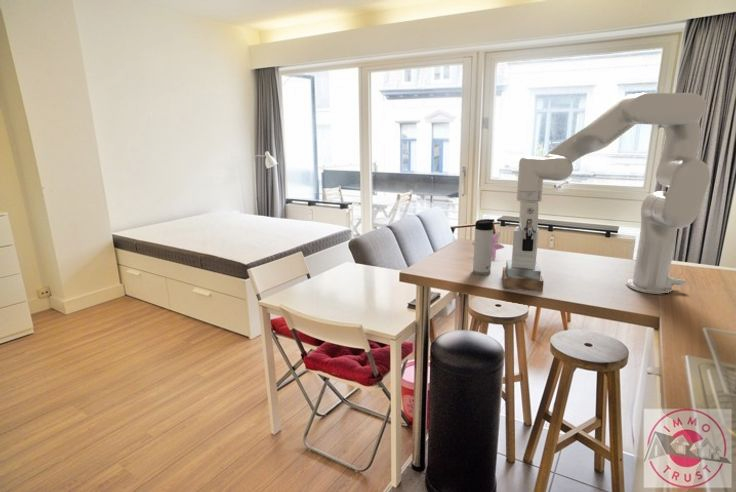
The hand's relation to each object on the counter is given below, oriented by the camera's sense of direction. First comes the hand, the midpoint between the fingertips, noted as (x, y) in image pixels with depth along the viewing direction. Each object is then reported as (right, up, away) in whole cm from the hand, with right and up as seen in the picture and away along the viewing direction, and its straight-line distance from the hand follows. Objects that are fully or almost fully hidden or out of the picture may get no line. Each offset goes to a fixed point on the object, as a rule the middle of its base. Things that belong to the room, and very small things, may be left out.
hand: (525, 246), depth 143 cm
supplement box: (0, -6, +2) cm, 7 cm away
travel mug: (-11, -10, +15) cm, 21 cm away
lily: (-3, -4, +34) cm, 35 cm away
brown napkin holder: (0, -13, +4) cm, 13 cm away
